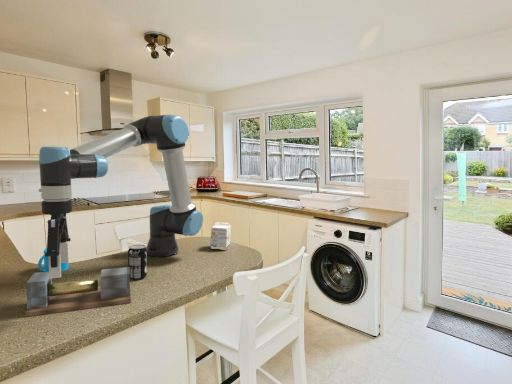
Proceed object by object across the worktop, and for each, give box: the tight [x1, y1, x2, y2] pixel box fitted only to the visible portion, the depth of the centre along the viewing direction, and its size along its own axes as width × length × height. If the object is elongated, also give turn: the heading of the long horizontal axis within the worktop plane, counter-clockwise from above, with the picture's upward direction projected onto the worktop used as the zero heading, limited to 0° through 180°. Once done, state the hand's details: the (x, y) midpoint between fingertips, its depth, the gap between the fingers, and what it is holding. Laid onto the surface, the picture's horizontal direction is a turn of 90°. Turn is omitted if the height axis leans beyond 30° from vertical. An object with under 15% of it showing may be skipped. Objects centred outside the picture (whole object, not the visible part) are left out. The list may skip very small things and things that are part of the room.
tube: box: [47, 278, 99, 297], centre depth 96 cm, size 16×4×4 cm, turn 113°
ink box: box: [210, 221, 232, 247], centre depth 163 cm, size 9×8×13 cm
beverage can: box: [127, 244, 148, 281], centre depth 118 cm, size 7×7×12 cm
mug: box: [37, 248, 69, 272], centre depth 123 cm, size 12×8×8 cm
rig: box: [25, 266, 132, 318], centre depth 97 cm, size 27×12×9 cm, turn 113°
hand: (59, 269), depth 95 cm, fingers open, 13 cm apart
